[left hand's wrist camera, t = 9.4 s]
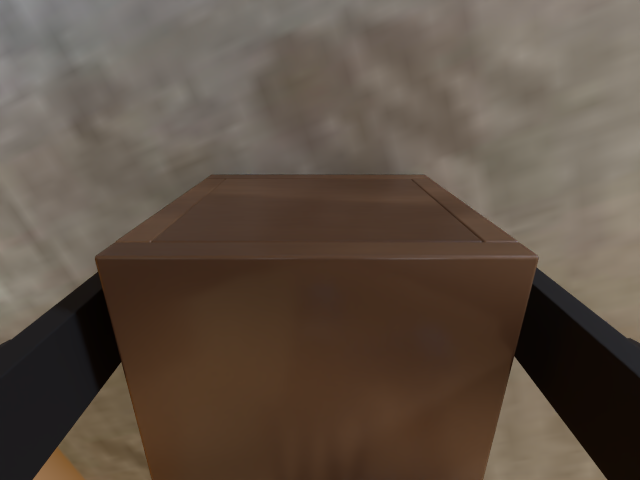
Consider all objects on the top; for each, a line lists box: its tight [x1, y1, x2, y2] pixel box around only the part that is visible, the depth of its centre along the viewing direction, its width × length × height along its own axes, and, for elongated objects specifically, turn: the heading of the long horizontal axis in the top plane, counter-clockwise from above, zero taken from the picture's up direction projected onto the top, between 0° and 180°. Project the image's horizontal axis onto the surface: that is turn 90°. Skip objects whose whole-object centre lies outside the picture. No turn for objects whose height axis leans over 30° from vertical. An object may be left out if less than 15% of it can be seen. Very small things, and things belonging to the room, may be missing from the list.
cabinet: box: [95, 175, 538, 480], centre depth 16 cm, size 17×10×10 cm, turn 0°
